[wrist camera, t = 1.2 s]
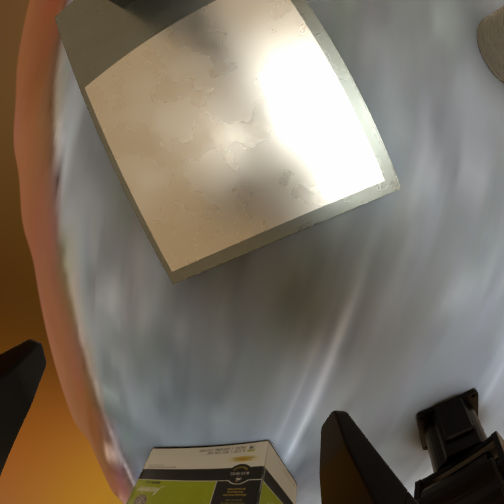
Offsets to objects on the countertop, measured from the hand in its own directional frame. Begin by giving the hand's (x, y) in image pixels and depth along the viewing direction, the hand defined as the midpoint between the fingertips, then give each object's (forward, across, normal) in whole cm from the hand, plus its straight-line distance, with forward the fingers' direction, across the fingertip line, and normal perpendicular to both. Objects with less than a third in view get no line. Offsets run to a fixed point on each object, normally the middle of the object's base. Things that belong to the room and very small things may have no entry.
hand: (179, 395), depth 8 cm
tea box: (+12, -5, +28) cm, 31 cm away
